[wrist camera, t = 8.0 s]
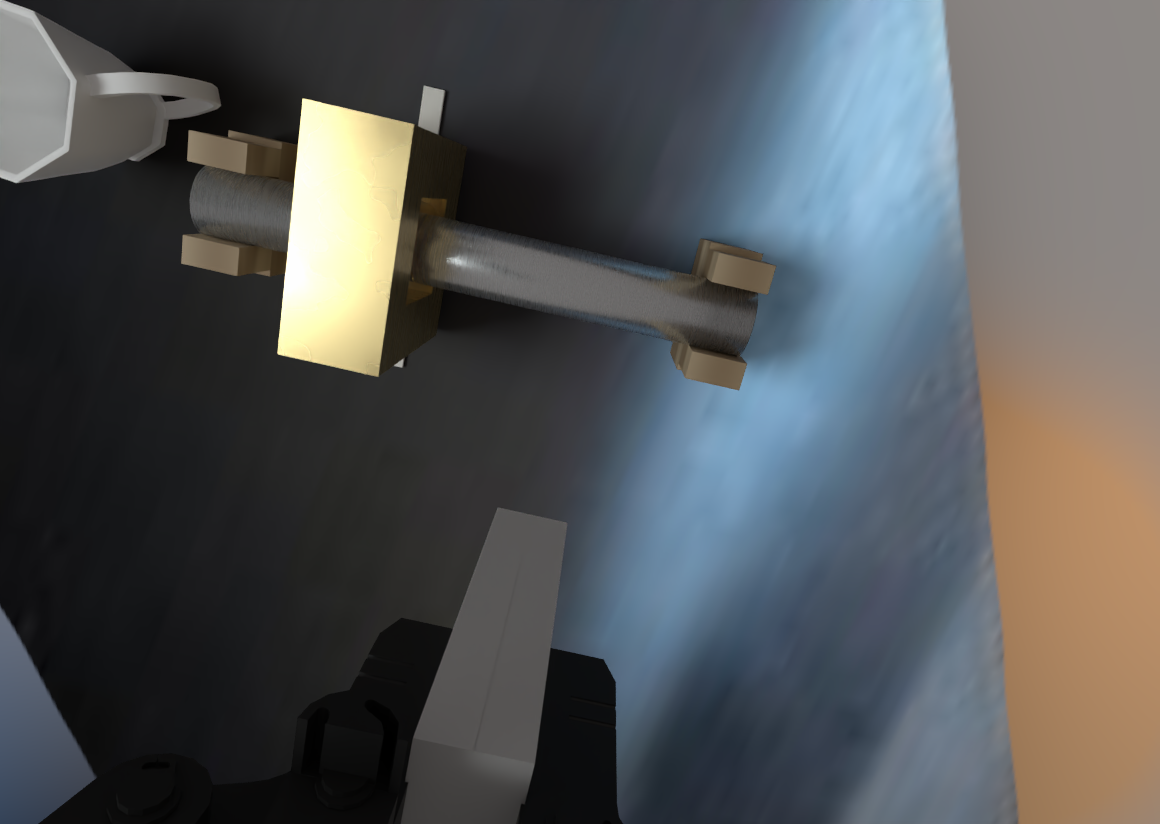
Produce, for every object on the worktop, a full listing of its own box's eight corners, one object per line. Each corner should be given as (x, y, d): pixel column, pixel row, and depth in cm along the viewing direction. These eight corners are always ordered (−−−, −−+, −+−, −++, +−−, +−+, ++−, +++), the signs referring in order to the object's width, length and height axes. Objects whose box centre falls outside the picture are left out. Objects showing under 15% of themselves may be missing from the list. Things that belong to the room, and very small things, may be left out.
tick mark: (385, 362, 38) (384, 363, 37) (425, 86, 34) (424, 85, 34) (403, 366, 38) (402, 367, 37) (445, 91, 34) (444, 90, 34)
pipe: (227, 237, 32) (184, 240, 29) (233, 162, 31) (189, 156, 28) (729, 352, 33) (741, 368, 30) (749, 281, 32) (765, 289, 29)
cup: (40, 42, 34) (-128, -7, 26) (239, 24, 33) (126, -31, 26) (79, 193, 36) (-68, 189, 28) (267, 179, 35) (170, 171, 28)
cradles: (260, 259, 36) (181, 270, 30) (271, 138, 35) (189, 122, 28) (714, 362, 37) (737, 396, 30) (746, 249, 35) (778, 258, 28)
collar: (360, 317, 36) (277, 353, 27) (385, 127, 34) (302, 98, 25) (436, 335, 36) (378, 376, 27) (467, 147, 34) (413, 124, 25)
